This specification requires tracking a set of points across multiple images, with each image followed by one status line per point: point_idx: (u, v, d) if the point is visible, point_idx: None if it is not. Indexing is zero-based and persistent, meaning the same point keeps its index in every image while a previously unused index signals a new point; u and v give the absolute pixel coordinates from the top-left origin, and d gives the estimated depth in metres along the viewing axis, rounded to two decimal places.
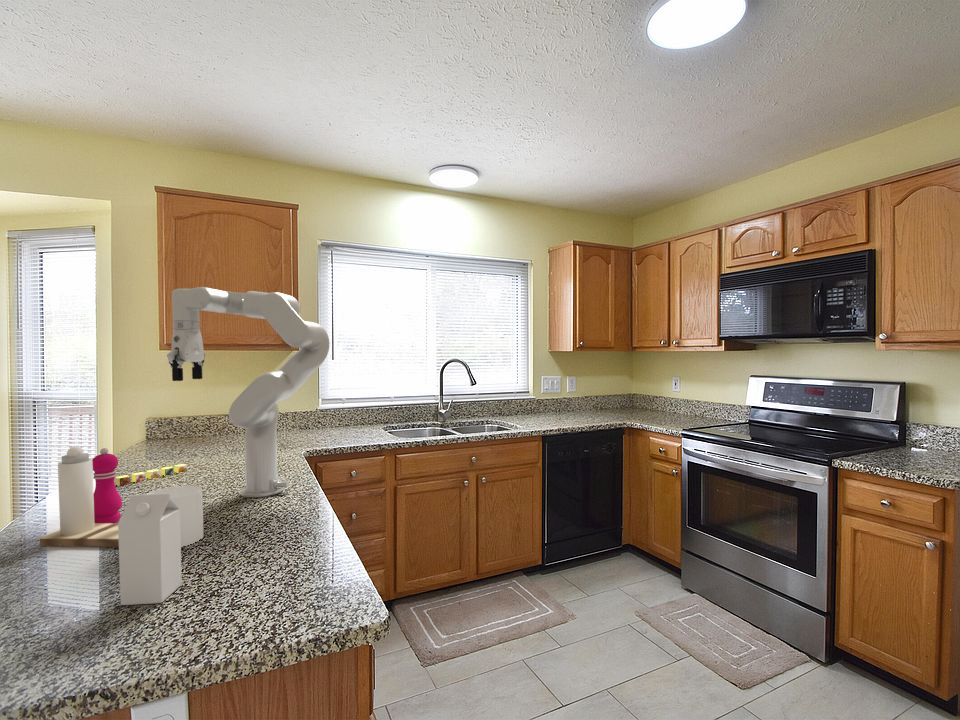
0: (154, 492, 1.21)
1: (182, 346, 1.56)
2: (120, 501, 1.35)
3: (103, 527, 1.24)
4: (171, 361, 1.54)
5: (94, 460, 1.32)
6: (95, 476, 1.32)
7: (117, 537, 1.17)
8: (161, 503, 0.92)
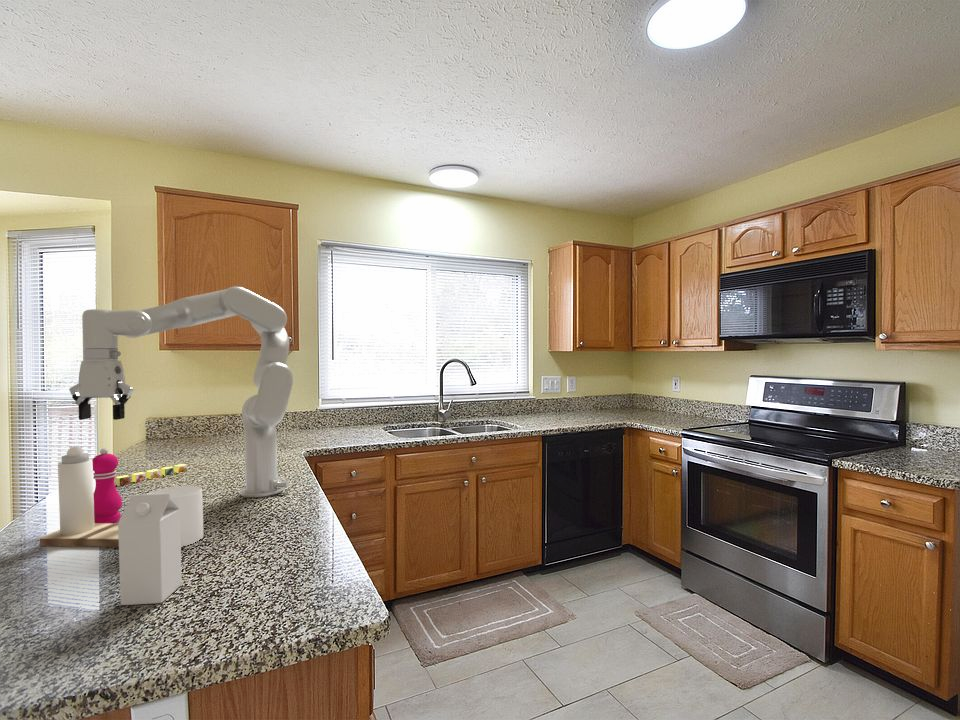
0: (154, 492, 1.21)
1: (123, 378, 1.35)
2: (120, 501, 1.35)
3: (103, 527, 1.24)
4: (129, 396, 1.34)
5: (94, 460, 1.32)
6: (95, 476, 1.32)
7: (117, 537, 1.17)
8: (161, 503, 0.92)
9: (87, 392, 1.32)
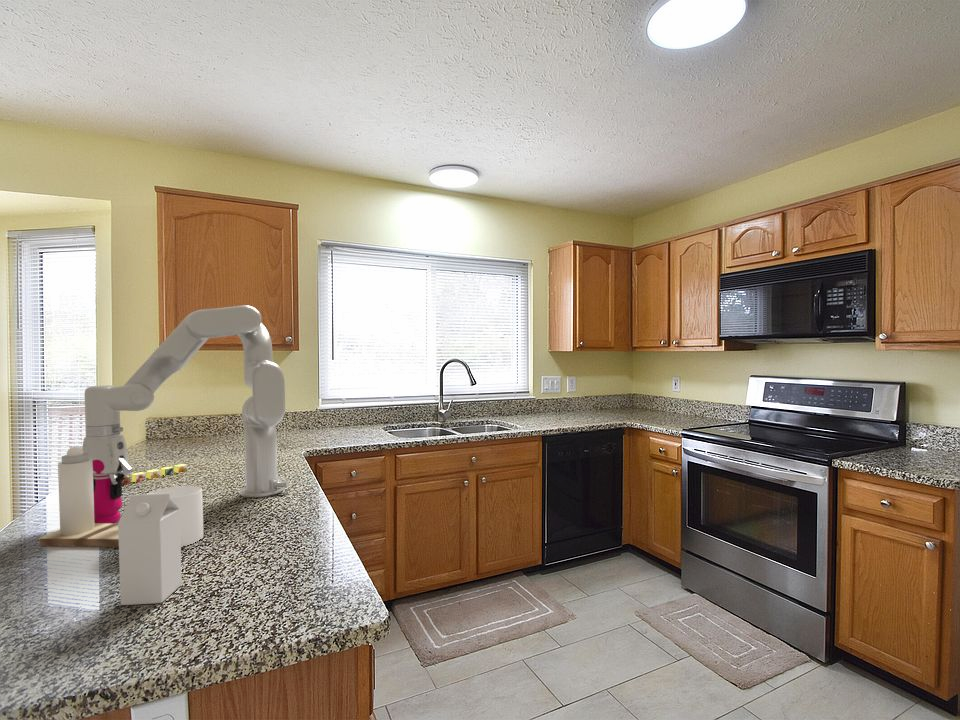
0: (154, 492, 1.21)
1: (126, 453, 1.36)
2: (120, 501, 1.35)
3: (103, 527, 1.24)
4: None
5: (94, 460, 1.32)
6: (95, 476, 1.32)
7: (117, 537, 1.17)
8: (161, 503, 0.92)
9: None
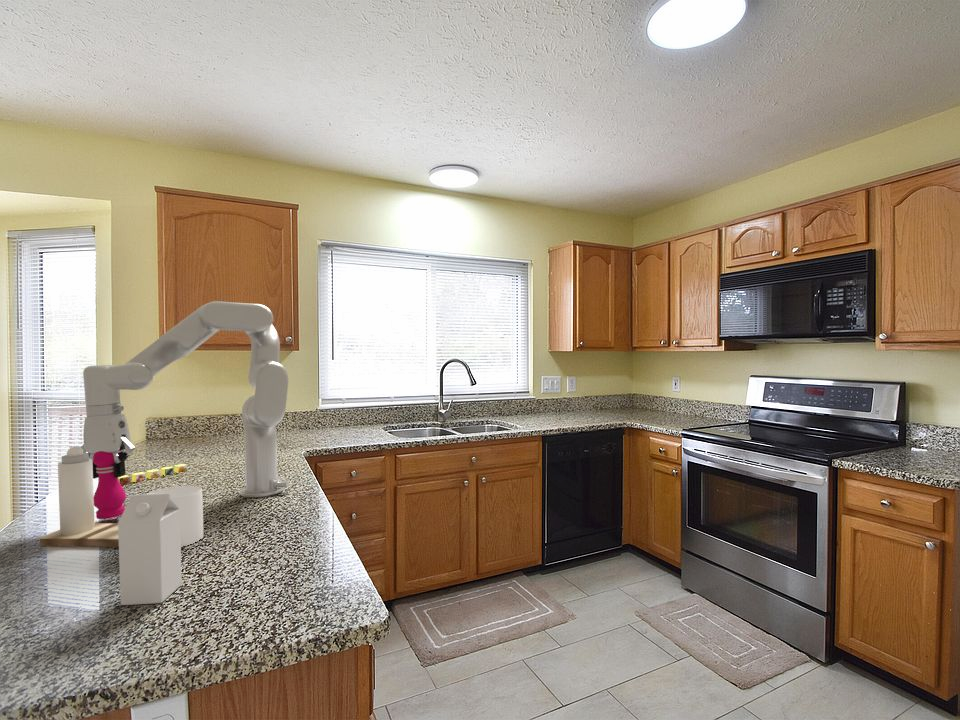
0: (154, 492, 1.21)
1: (128, 432, 1.36)
2: (124, 494, 1.36)
3: (103, 527, 1.24)
4: (128, 453, 1.35)
5: (96, 454, 1.32)
6: (98, 470, 1.32)
7: (117, 537, 1.17)
8: (161, 503, 0.92)
9: (93, 448, 1.33)
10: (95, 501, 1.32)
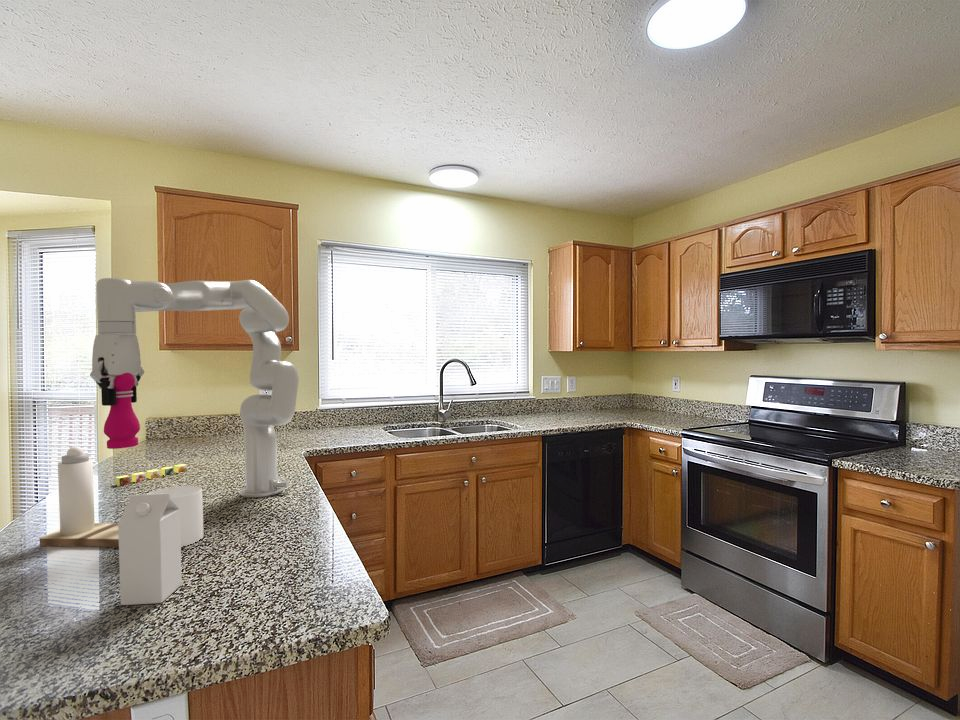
0: (154, 492, 1.21)
1: None
2: None
3: (103, 527, 1.24)
4: None
5: (127, 376, 1.20)
6: (127, 393, 1.20)
7: (117, 537, 1.17)
8: (161, 503, 0.92)
9: (120, 370, 1.19)
10: (131, 426, 1.20)
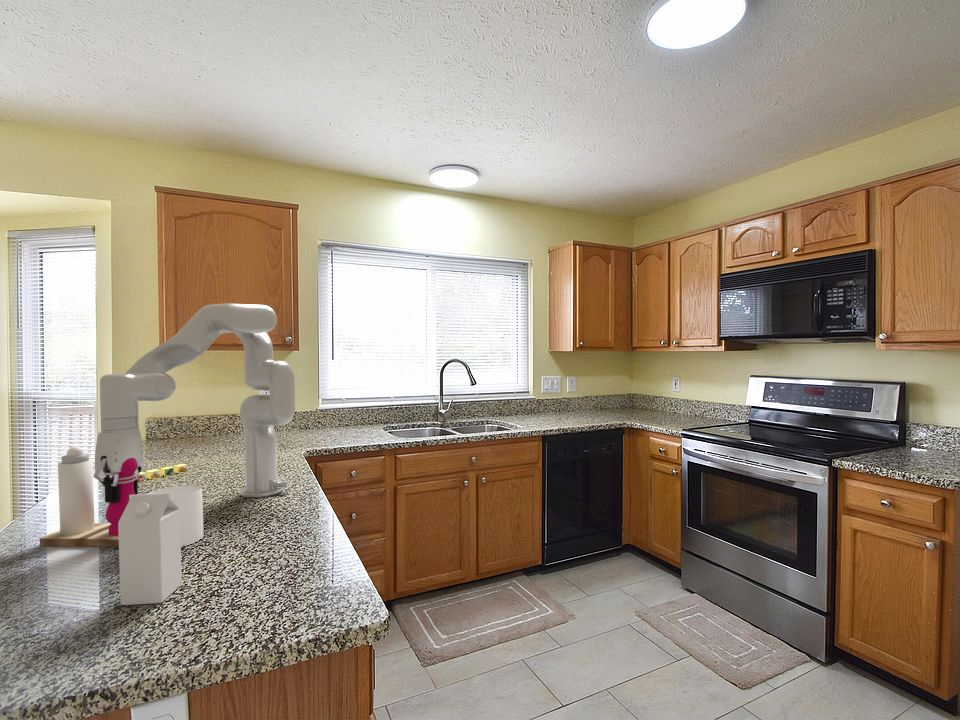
0: (154, 492, 1.21)
1: None
2: None
3: (103, 527, 1.24)
4: None
5: (130, 461, 1.20)
6: (130, 479, 1.20)
7: (117, 537, 1.17)
8: (161, 503, 0.92)
9: None
10: None
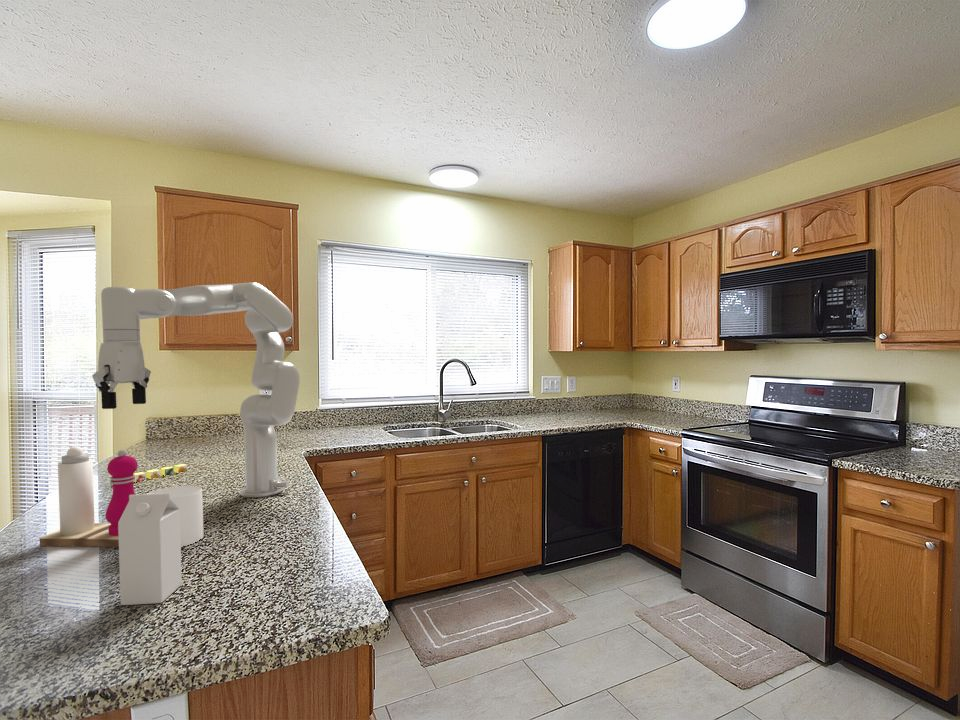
0: (154, 492, 1.21)
1: None
2: None
3: (103, 527, 1.24)
4: None
5: (130, 461, 1.20)
6: (129, 479, 1.20)
7: (117, 537, 1.17)
8: (161, 503, 0.92)
9: (125, 377, 1.21)
10: None
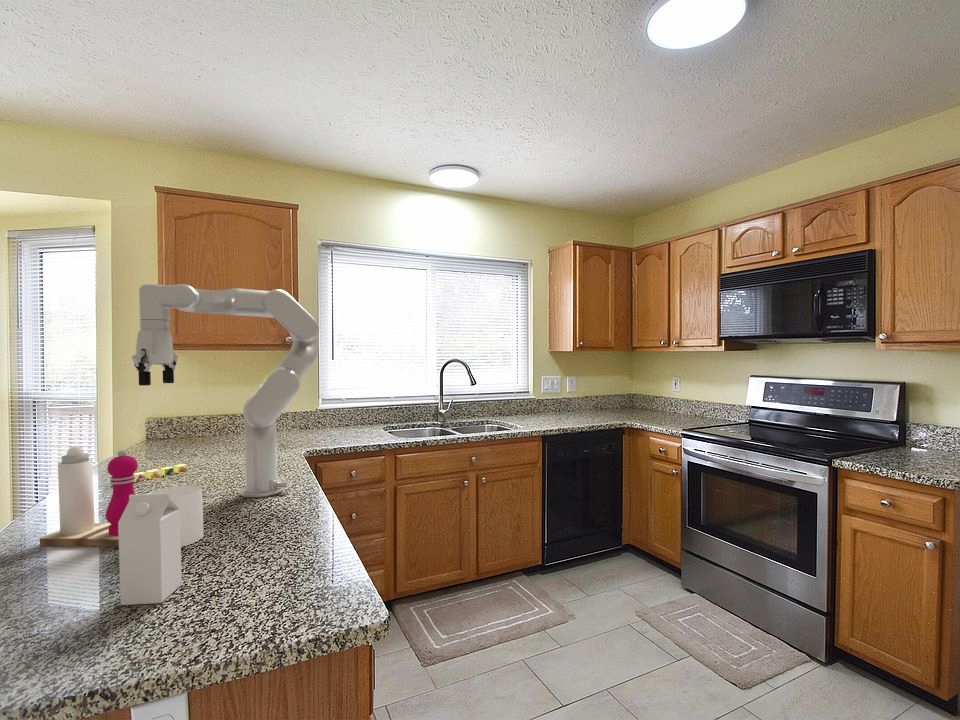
0: (154, 492, 1.21)
1: None
2: None
3: (103, 527, 1.24)
4: None
5: (130, 461, 1.20)
6: (129, 479, 1.20)
7: (117, 537, 1.17)
8: (161, 503, 0.92)
9: (158, 359, 1.45)
10: None
